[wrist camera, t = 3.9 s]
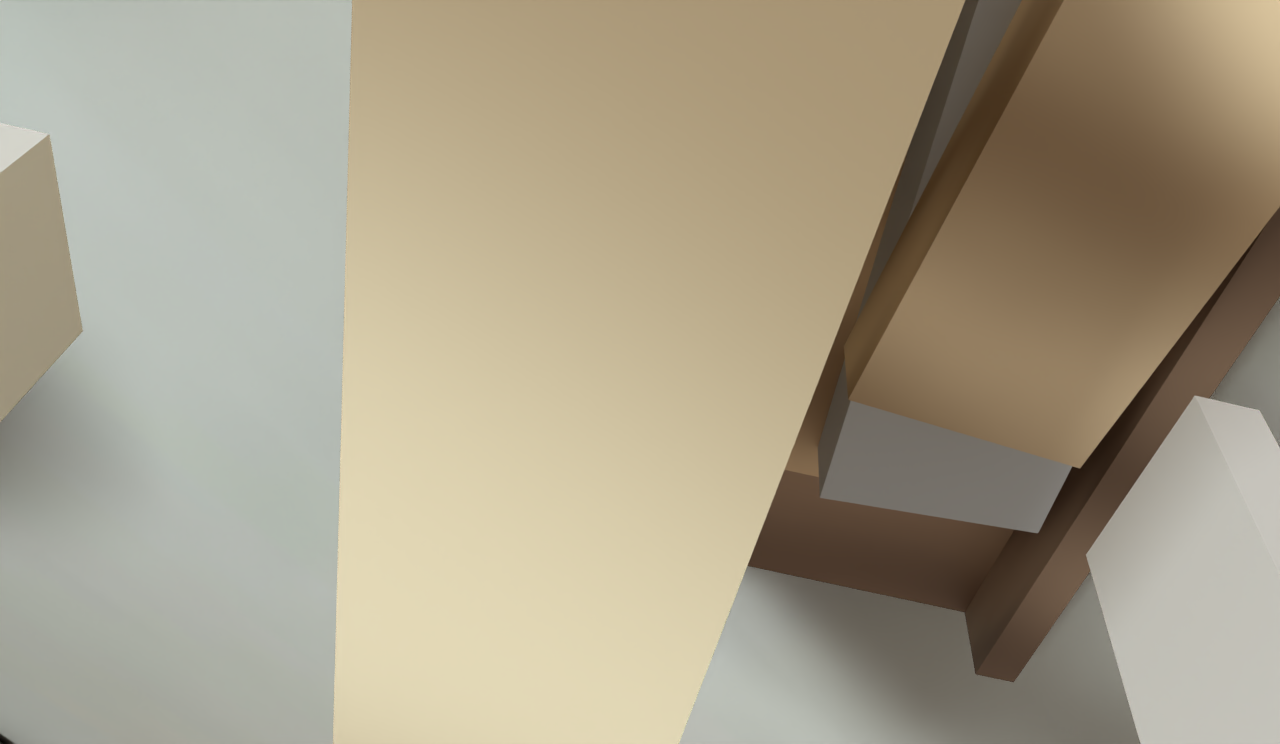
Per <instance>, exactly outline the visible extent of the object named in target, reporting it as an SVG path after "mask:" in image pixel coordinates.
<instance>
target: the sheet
mask: <svg viewBox="0 0 1280 744" xmlns="http://www.w3.org/2000/svg"><path fill="white" fill-rule="evenodd" d="M964 2H965V0H352V31H351V69H350V108H349V146H348V185H347V223H346V262H345V300H344V339H343V377H342V416H341V454H340V493H339V531H338V570H337V608H336V647H335V685H334V724H333V744H679V742H680V739H681V737H682V734H683V731H684V729H685V726H686V724H687V721H688V719H689V716H690V713H691V711H692V708H693V706H694V703H695V700H696V698H697V695H698V693H699V690H700V687H701V685H702V682H703V680H704V677H705V674H706V672H707V669H708V667H709V664H710V661H711V659H712V656H713V654H714V651H715V648H716V646H717V643H718V641H719V638H720V635H721V633H722V630H723V628H724V625H725V623H726V620H727V617H728V615H729V612H730V610H731V607H732V604H733V602H734V599H735V597H736V594H737V591H738V589H739V586H740V584H741V581H742V578H743V576H744V573H745V571H746V568H747V565H748V563H749V560H750V558H751V555H752V552H753V550H754V547H755V545H756V542H757V539H758V537H759V534H760V532H761V529H762V527H763V524H764V521H765V519H766V516H767V514H768V511H769V508H770V506H771V503H772V501H773V498H774V495H775V493H776V490H777V488H778V485H779V482H780V480H781V477H782V475H783V472H784V469H785V467H786V464H787V462H788V459H789V456H790V454H791V451H792V449H793V446H794V444H795V441H796V438H797V436H798V433H799V431H800V428H801V425H802V423H803V420H804V418H805V415H806V412H807V410H808V407H809V405H810V402H811V399H812V397H813V394H814V392H815V389H816V386H817V384H818V381H819V379H820V376H821V373H822V371H823V368H824V366H825V363H826V360H827V358H828V355H829V353H830V350H831V348H832V345H833V342H834V340H835V337H836V335H837V332H838V329H839V327H840V324H841V322H842V319H843V316H844V314H845V311H846V309H847V306H848V303H849V301H850V298H851V296H852V293H853V290H854V288H855V285H856V283H857V280H858V277H859V275H860V272H861V270H862V267H863V264H864V262H865V259H866V257H867V254H868V252H869V249H870V246H871V244H872V241H873V239H874V236H875V233H876V231H877V228H878V226H879V223H880V220H881V218H882V215H883V213H884V210H885V207H886V205H887V202H888V200H889V197H890V194H891V192H892V189H893V187H894V184H895V181H896V179H897V176H898V174H899V171H900V169H901V166H902V163H903V161H904V158H905V156H906V153H907V150H908V148H909V145H910V143H911V140H912V137H913V135H914V132H915V130H916V127H917V124H918V122H919V119H920V117H921V114H922V111H923V109H924V106H925V104H926V101H927V98H928V96H929V93H930V91H931V88H932V85H933V83H934V80H935V78H936V75H937V73H938V70H939V67H940V65H941V62H942V60H943V57H944V54H945V52H946V49H947V47H948V44H949V41H950V39H951V36H952V34H953V31H954V28H955V26H956V23H957V21H958V18H959V15H960V13H961V10H962V8H963V5H964Z"/></svg>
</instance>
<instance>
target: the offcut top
mask: <svg viewBox="0 0 1280 744" xmlns="http://www.w3.org/2000/svg"><path fill="white" fill-rule="evenodd" d="M1279 207H1280V0H1022V1H1021V3H1020V5H1019V7H1018V9H1017V11H1016V13H1015V15H1014V17H1013V18H1012V20H1011V22H1010V24H1009V26H1008V28H1007V30H1006V32H1005V34H1004V36H1003V38H1002V40H1001V42H1000V44H999V46H998V48H997V50H996V51H995V53H994V55H993V57H992V59H991V61H990V63H989V65H988V67H987V69H986V71H985V73H984V75H983V77H982V79H981V81H980V83H979V84H978V86H977V88H976V90H975V92H974V94H973V96H972V98H971V100H970V102H969V104H968V106H967V108H966V110H965V112H964V114H963V116H962V118H961V119H960V121H959V123H958V125H957V127H956V129H955V131H954V133H953V135H952V137H951V139H950V141H949V143H948V145H947V147H946V149H945V151H944V152H943V154H942V156H941V158H940V160H939V162H938V164H937V166H936V168H935V170H934V172H933V174H932V176H931V178H930V180H929V182H928V184H927V185H926V187H925V189H924V191H923V193H922V195H921V197H920V199H919V201H918V203H917V205H916V207H915V209H914V211H913V213H912V215H911V217H910V218H909V220H908V222H907V224H906V226H905V228H904V230H903V232H902V234H901V236H900V238H899V240H898V242H897V244H896V246H895V248H894V250H893V251H892V253H891V255H890V257H889V259H888V261H887V263H886V265H885V267H884V269H883V271H882V273H881V275H880V277H879V279H878V281H877V283H876V284H875V286H874V288H873V290H872V292H871V294H870V296H869V298H868V300H867V302H866V304H865V306H864V308H863V310H862V312H861V314H860V316H859V318H858V319H857V321H856V323H855V325H854V327H853V329H852V331H851V333H850V335H849V337H848V339H847V341H846V343H845V345H844V355H845V367H846V380H847V392H848V400H850V401H854V402H857V403H861V404H864V405H867V406H871V407H874V408H877V409H881V410H884V411H888V412H891V413H894V414H898V415H901V416H904V417H908V418H911V419H915V420H918V421H921V422H925V423H928V424H931V425H935V426H938V427H942V428H945V429H948V430H952V431H955V432H958V433H962V434H965V435H969V436H972V437H975V438H979V439H982V440H985V441H989V442H992V443H996V444H999V445H1002V446H1006V447H1009V448H1012V449H1016V450H1019V451H1022V452H1026V453H1029V454H1033V455H1036V456H1039V457H1043V458H1046V459H1049V460H1053V461H1056V462H1060V463H1063V464H1066V465H1070V466H1073V467H1076V468H1081V467H1082V465H1083V464H1084V463H1085V461H1086V460H1087V459H1088V457H1089V456H1090V455H1091V453H1092V452H1093V451H1094V450H1095V448H1096V447H1097V446H1098V444H1099V443H1100V442H1101V440H1102V439H1103V438H1104V436H1105V435H1106V434H1107V432H1108V431H1109V430H1110V429H1111V427H1112V426H1113V425H1114V423H1115V422H1116V421H1117V419H1118V418H1119V417H1120V415H1121V414H1122V413H1123V411H1124V410H1125V409H1126V408H1127V406H1128V405H1129V404H1130V402H1131V401H1132V400H1133V398H1134V397H1135V396H1136V394H1137V393H1138V392H1139V390H1140V389H1141V388H1142V387H1143V385H1144V384H1145V383H1146V381H1147V380H1148V379H1149V377H1150V376H1151V375H1152V373H1153V372H1154V371H1155V369H1156V368H1157V367H1158V366H1159V364H1160V363H1161V362H1162V360H1163V359H1164V358H1165V356H1166V355H1167V354H1168V352H1169V351H1170V350H1171V348H1172V347H1173V346H1174V345H1175V343H1176V342H1177V341H1178V339H1179V338H1180V337H1181V335H1182V334H1183V333H1184V331H1185V330H1186V329H1187V327H1188V326H1189V325H1190V324H1191V322H1192V321H1193V320H1194V318H1195V317H1196V316H1197V314H1198V313H1199V312H1200V310H1201V309H1202V308H1203V306H1204V305H1205V304H1206V303H1207V301H1208V300H1209V299H1210V297H1211V296H1212V295H1213V293H1214V292H1215V291H1216V289H1217V288H1218V287H1219V285H1220V284H1221V283H1222V282H1223V280H1224V279H1225V278H1226V276H1227V275H1228V274H1229V272H1230V271H1231V270H1232V268H1233V267H1234V266H1235V264H1236V263H1237V262H1238V261H1239V259H1240V258H1241V257H1242V255H1243V254H1244V253H1245V251H1246V250H1247V249H1248V247H1249V246H1250V245H1251V243H1252V242H1253V241H1254V240H1255V238H1256V237H1257V236H1258V234H1259V233H1260V232H1261V230H1262V229H1263V228H1264V226H1265V225H1266V224H1267V222H1268V221H1269V220H1270V219H1271V217H1272V216H1273V215H1274V213H1275V212H1276V211H1277V209H1278V208H1279Z"/></svg>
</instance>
